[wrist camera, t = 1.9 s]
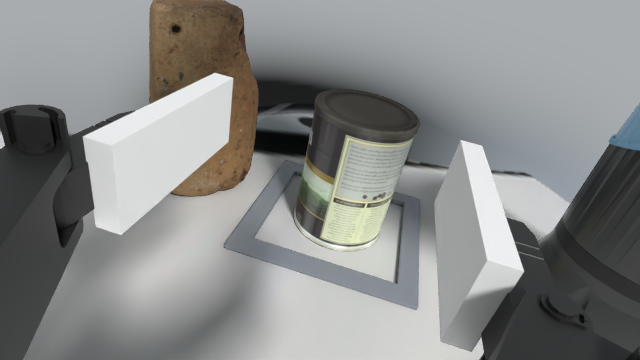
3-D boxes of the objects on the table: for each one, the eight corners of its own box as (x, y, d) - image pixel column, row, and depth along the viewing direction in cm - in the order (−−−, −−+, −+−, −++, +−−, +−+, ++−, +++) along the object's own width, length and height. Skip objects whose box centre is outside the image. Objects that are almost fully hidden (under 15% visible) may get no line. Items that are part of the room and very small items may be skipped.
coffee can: (275, 225, 41) (296, 103, 34) (317, 186, 49) (340, 81, 42) (362, 267, 38) (405, 143, 31) (390, 218, 47) (429, 111, 39)
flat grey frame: (418, 202, 51) (419, 199, 51) (416, 310, 35) (418, 306, 34) (285, 163, 53) (285, 160, 53) (224, 247, 37) (224, 243, 36)
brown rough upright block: (154, 202, 40) (146, 0, 30) (151, 165, 46) (142, -16, 36) (253, 194, 45) (275, 17, 35) (239, 162, 51) (254, 1, 40)
